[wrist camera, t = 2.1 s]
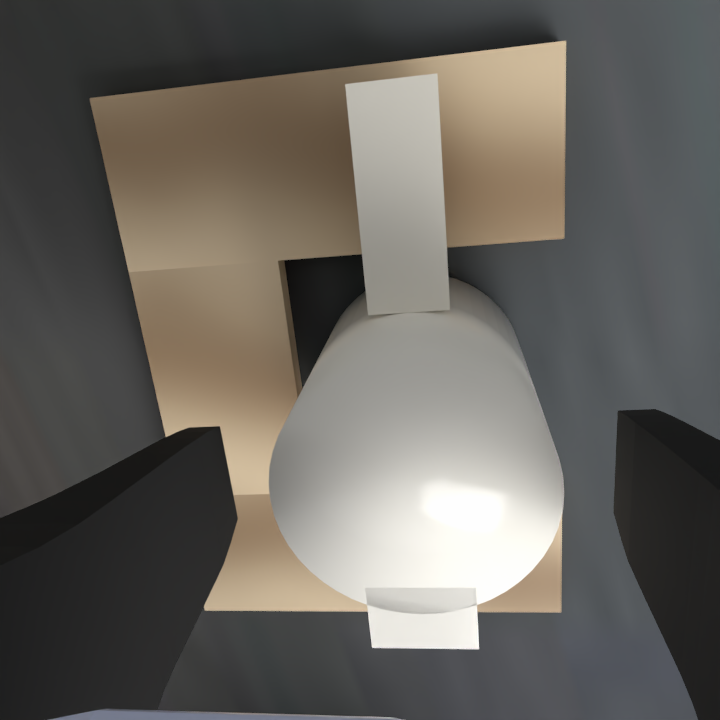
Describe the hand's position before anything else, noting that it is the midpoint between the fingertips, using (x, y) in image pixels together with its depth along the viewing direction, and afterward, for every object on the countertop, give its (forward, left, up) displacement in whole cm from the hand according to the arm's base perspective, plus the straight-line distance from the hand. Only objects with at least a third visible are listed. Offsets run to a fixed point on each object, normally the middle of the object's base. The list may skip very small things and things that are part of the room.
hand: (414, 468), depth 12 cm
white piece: (+2, 0, -5) cm, 5 cm away
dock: (0, +2, -5) cm, 5 cm away
